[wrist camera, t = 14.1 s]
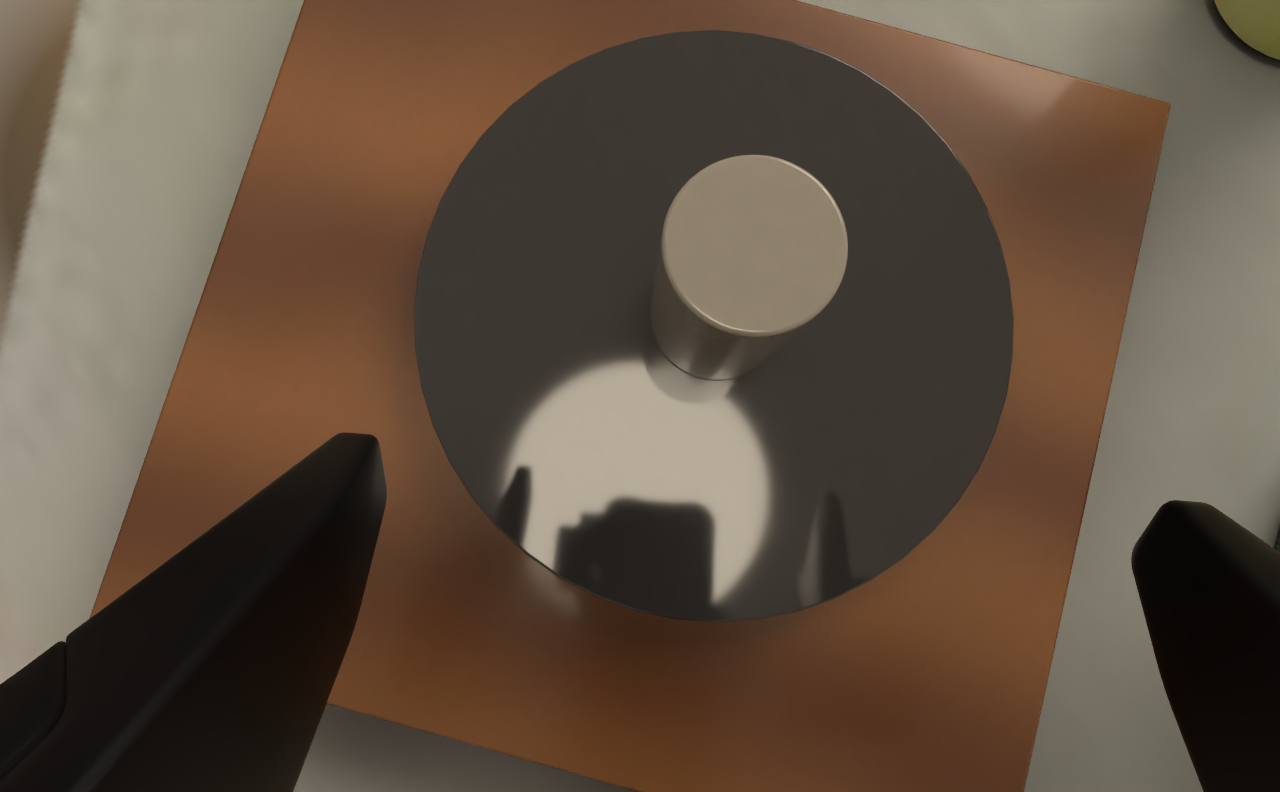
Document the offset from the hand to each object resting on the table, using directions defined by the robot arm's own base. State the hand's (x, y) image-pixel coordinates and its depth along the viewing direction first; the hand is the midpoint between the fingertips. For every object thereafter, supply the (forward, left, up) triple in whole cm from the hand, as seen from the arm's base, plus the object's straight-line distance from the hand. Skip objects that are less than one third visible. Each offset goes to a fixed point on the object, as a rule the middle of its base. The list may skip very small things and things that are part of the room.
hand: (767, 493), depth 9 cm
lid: (+4, +1, -8) cm, 9 cm away
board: (+3, +2, -11) cm, 11 cm away
